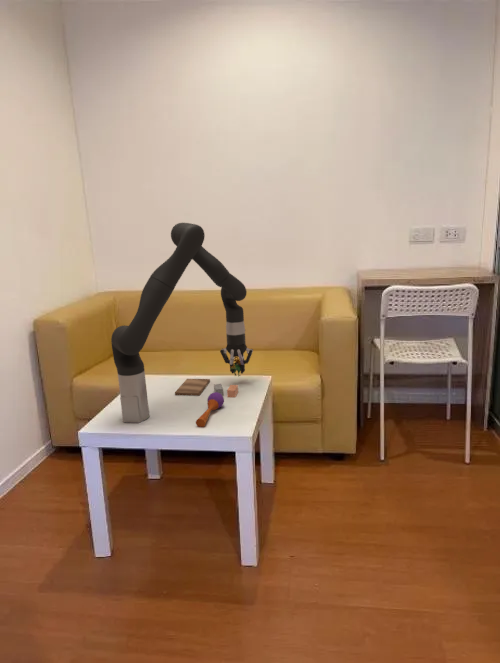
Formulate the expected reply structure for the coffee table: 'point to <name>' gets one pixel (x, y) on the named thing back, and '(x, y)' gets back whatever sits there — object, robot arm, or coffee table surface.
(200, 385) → the walnut board
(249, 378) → the coffee table surface
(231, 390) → the terracotta brick
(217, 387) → the slate-grey brick
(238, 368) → the figurine
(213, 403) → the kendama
